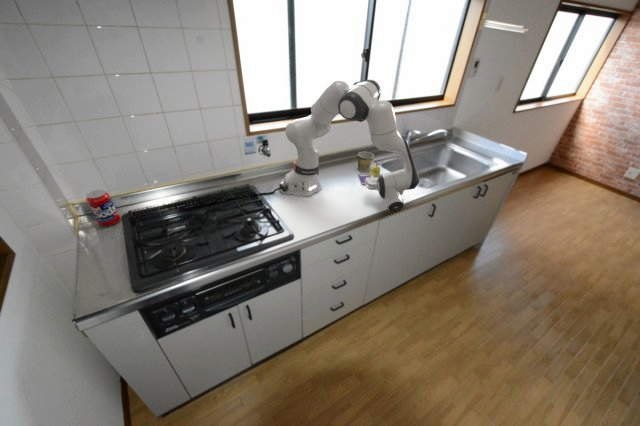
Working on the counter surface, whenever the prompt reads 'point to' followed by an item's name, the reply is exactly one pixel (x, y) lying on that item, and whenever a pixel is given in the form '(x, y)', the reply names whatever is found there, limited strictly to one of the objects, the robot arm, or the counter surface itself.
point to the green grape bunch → (375, 171)
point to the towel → (363, 178)
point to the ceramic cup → (364, 161)
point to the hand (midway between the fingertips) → (381, 175)
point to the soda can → (102, 207)
